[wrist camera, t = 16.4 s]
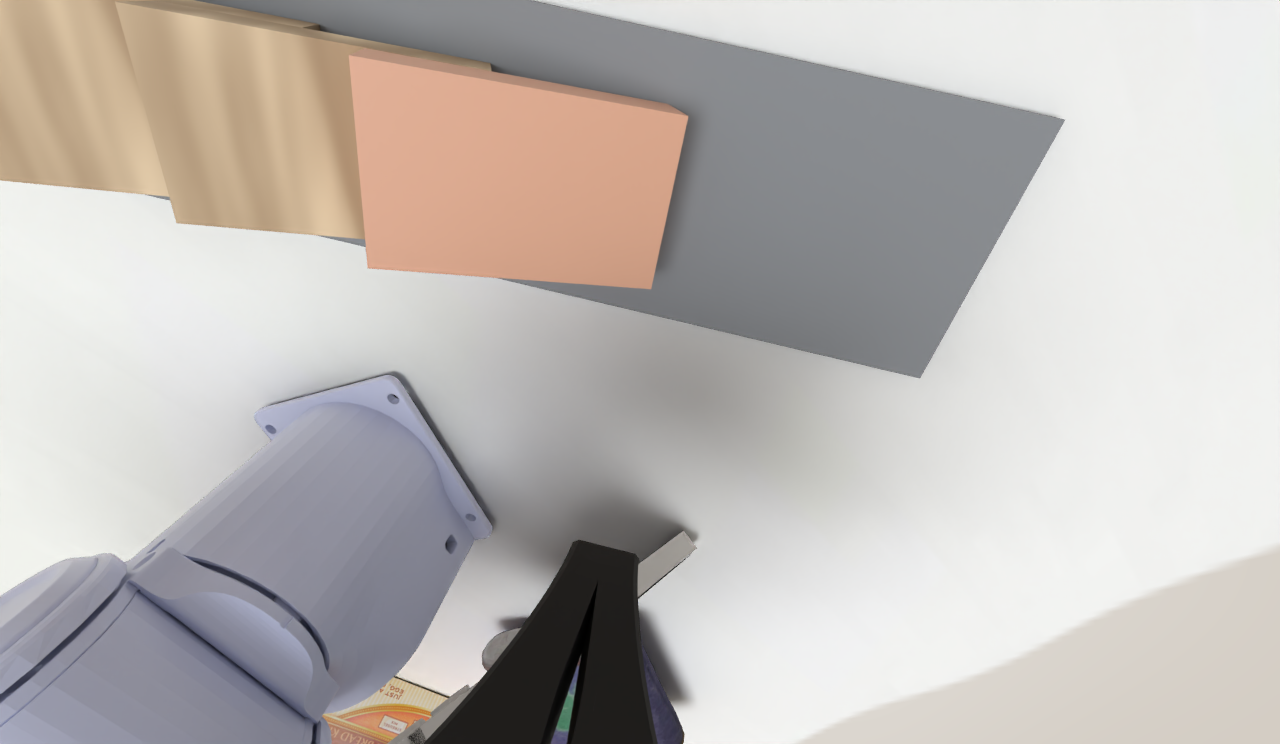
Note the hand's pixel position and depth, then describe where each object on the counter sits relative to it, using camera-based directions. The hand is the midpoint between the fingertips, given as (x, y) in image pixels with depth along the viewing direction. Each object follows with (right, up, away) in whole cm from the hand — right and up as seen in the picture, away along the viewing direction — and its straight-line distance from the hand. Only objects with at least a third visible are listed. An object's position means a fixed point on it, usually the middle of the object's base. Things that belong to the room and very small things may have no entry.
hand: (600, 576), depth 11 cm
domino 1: (-9, +12, +5) cm, 16 cm away
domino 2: (-4, +11, +5) cm, 13 cm away
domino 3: (+1, +10, +5) cm, 11 cm away
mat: (-5, +12, +6) cm, 14 cm away
